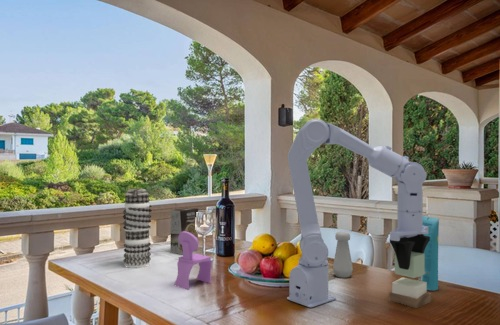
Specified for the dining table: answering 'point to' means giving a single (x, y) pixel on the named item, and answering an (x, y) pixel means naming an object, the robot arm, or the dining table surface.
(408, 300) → the walnut slab
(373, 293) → the dining table surface
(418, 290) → the cream slab
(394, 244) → the robot arm
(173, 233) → the coffee box
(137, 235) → the decorative candle
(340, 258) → the salt shaker
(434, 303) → the dining table surface
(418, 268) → the sage cube
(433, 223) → the tube
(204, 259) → the toy chair
